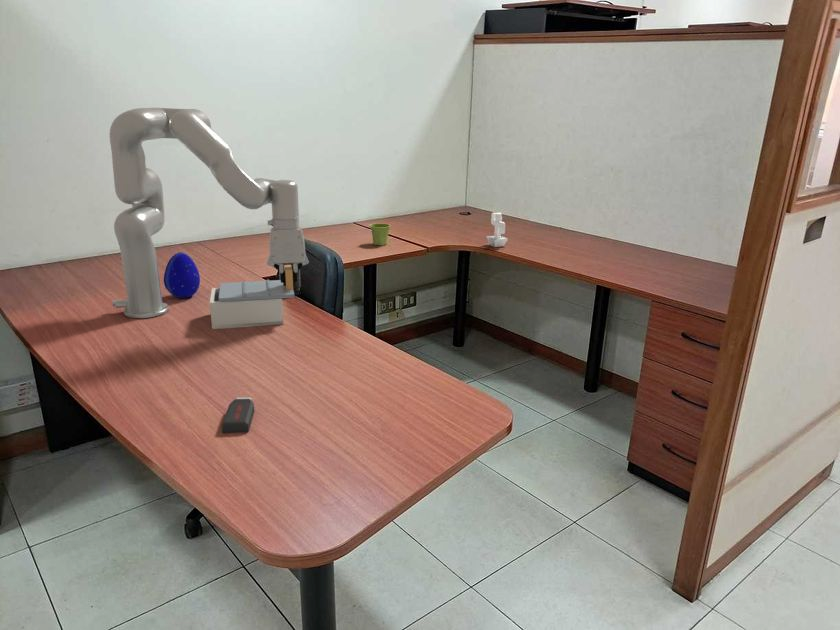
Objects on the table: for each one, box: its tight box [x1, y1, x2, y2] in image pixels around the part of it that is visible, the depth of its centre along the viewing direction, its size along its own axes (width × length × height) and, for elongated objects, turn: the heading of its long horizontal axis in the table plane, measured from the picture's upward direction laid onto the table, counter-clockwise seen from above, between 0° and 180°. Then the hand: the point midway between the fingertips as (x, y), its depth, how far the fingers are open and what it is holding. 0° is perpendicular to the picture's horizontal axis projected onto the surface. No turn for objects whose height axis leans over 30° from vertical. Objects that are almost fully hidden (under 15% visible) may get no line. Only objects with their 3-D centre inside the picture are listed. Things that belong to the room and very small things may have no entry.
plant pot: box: [369, 222, 391, 247], centre depth 278 cm, size 9×9×9 cm
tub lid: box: [219, 265, 295, 302], centre depth 183 cm, size 21×15×7 cm
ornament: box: [163, 251, 201, 299], centre depth 201 cm, size 11×9×15 cm
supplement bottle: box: [278, 263, 301, 297], centre depth 207 cm, size 7×7×12 cm
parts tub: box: [209, 287, 284, 330], centre depth 185 cm, size 20×14×8 cm
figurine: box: [486, 212, 509, 248], centre depth 280 cm, size 7×9×15 cm
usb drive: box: [221, 396, 255, 434], centre depth 130 cm, size 5×12×3 cm, turn 7°
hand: (289, 284), depth 186 cm, fingers closed on tub lid, 2 cm apart
